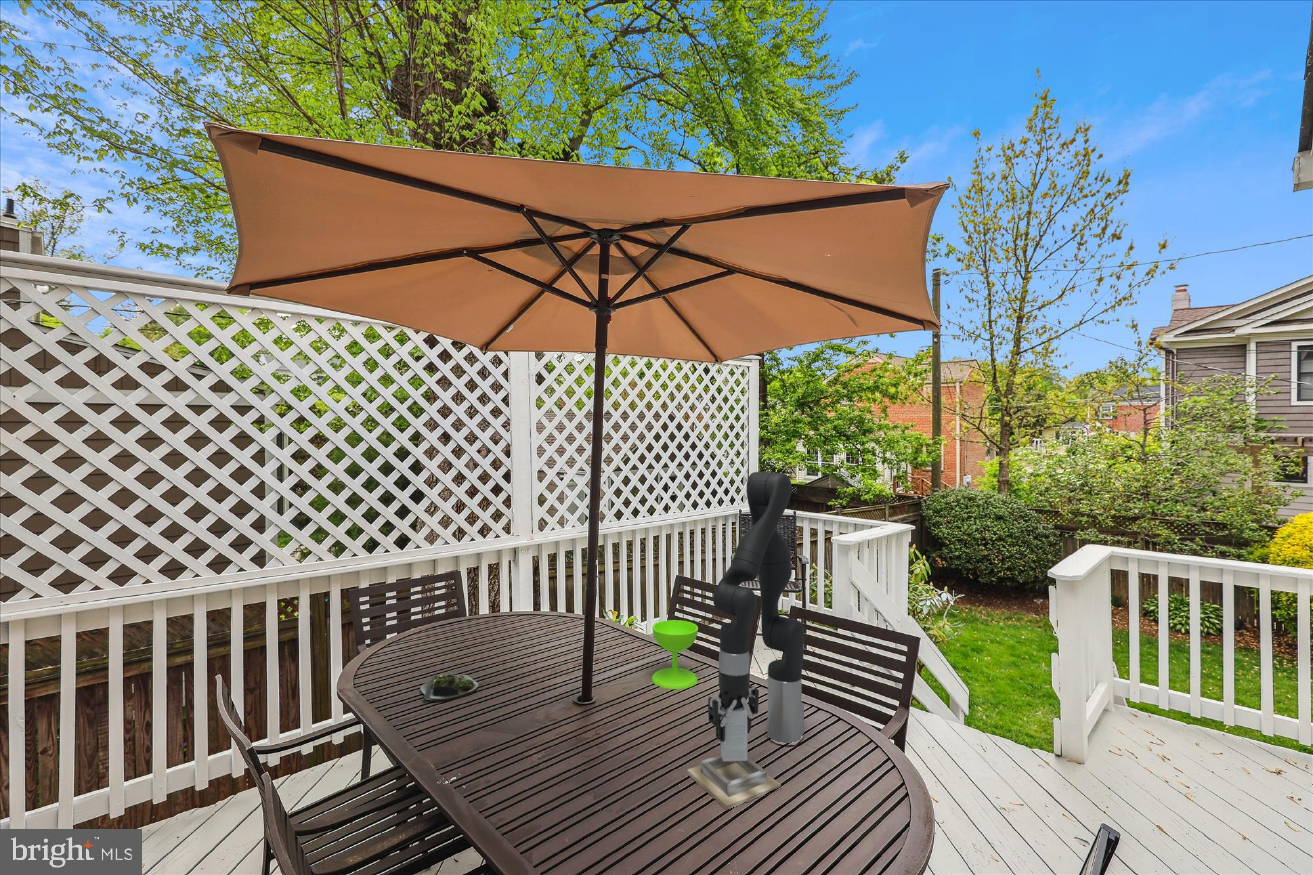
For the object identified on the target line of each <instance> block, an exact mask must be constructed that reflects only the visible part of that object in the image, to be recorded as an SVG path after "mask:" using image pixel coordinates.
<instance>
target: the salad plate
mask: <svg viewBox="0 0 1313 875" xmlns="http://www.w3.org/2000/svg"><path fill="white" fill-rule="evenodd" d="M479 686H480V685H479V682H477V681H476V680H474V679H473V678H472V677H470V676H469V675H467V674H454V675H452V673H448V674H445V675H443V674H440V675H433V676H432V677H431V680H430V681H428V682H426V683H423V684H422V685H421V686H420V688H419V689H420V691H421V693H422V694H423V695H424V696H423V699H424V700H426V701H430V702H434V703H445V702H452V701H455V700H458V699H459V700H460V699H463V698H466V697H469V696H470V695H471V696H472V695H474V694H475V693H476V691H477V690H478V689H479Z"/></svg>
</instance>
